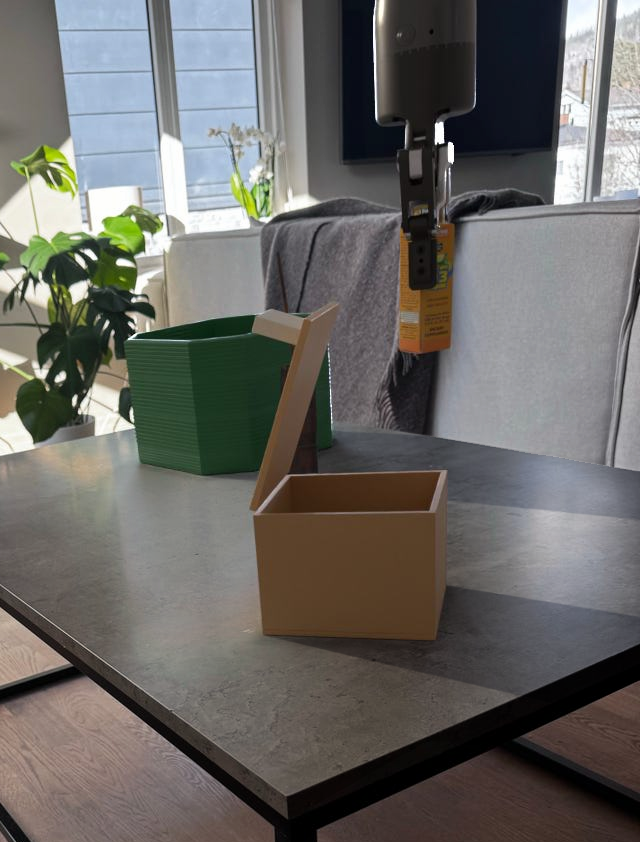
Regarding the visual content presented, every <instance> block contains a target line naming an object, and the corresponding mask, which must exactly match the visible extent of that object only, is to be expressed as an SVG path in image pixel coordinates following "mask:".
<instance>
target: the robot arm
mask: <svg viewBox="0 0 640 842" xmlns="http://www.w3.org/2000/svg"><path fill="white" fill-rule="evenodd" d="M374 2H375V3H374V9H373V29H372V30H373V63H374V65H373V66H374V67H373V68H374V69H373V71H374V101H375V103H374V105H375V121H376V123H377V124H378V125H379V126H381V127H399V126H405V138H404V148H402V149H401V148H400V149H398V150H396V151H397V152H396V169H397V171H398V173H399V174H398V175H399V206H400V209H401V222H400V229H403V234H404V237H406V241H412V242H408V272H409V288H410V289H411V290H414V291H416V290H425V289H432V288H434V287H435V286H436V285H437V239H432V238H437V237H438V233H439V232H440V226H438V225H439V223H448V221H449V213H448V205H449V204H450V201H451V195H452V194H451V193H452V191H451V168H452V165H453V162H454V145H453V142H450V141H446V142H445V139H444V138H445V137H444V136H445V135H444V123H445V121H446V120H447V119H449V118H453V117H458V116H462V115H465V114H468V113H470V112H471V111H472V110H473V109H474V108H475V106H476V98H477V97H476V95H477V94H476V92H477V91H476V89H477V87H476V86H477V85H476V84H477V82H476V80H477V0H374ZM425 210H427V212H425Z"/></svg>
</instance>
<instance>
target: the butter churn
mask: <svg viewBox="0 0 640 842" xmlns="http://www.w3.org/2000/svg"><path fill="white" fill-rule="evenodd" d="M275 259H276V266H277V271H278V277H279V284H280V291H281V295H282V302H283V308H284V309H283V310H284V313H287V314H289V307H288V306H289V305H288V300H287V291H286V285H285V278H284V273H283V267H282V266H283V265H282V260H281V259H282V257H281V253H280V251H276V252H275ZM289 346H290V352H291V359H292V358H293V354H294V347H293V346H294V345H293V344H290V343H289ZM289 368H290V365H287V366H281V377H280V382H281V386H280V397H281V396H282V393H283V389H284V386H285V382H286V379H287V375H288V372H289ZM316 410H317V407H316V385H315V388H314V391H313V395H312V398H311V401H310V404H309V408H308V411H307V414H306V418H305V421H304V424H303V427H302V431H301V434H300V437H299V441H298V444H297V447H296V451H295V454H294V457H293V460H292V464H291V467H290V470H289V472H288V474H287V475H300V474H319V451H317V448H318V443H317V413H316Z"/></svg>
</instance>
